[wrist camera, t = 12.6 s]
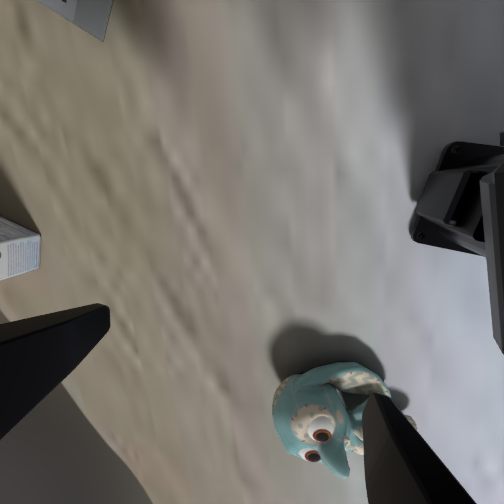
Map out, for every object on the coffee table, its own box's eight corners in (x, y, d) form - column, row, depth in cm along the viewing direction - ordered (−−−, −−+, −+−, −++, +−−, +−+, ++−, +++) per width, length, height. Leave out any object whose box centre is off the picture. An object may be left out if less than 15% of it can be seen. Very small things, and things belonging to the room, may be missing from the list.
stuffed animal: (413, 538, 18) (259, 508, 18) (374, 438, 25) (261, 416, 25) (484, 445, 15) (292, 408, 15) (416, 358, 22) (284, 332, 22)
